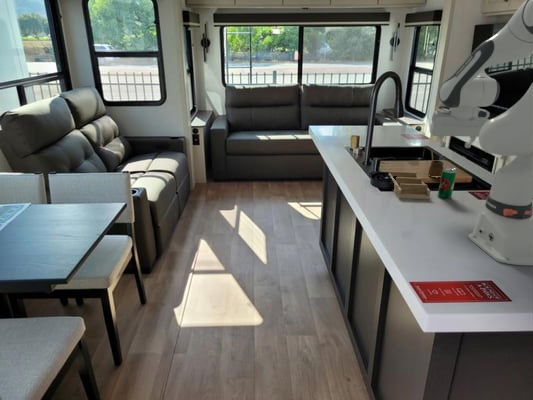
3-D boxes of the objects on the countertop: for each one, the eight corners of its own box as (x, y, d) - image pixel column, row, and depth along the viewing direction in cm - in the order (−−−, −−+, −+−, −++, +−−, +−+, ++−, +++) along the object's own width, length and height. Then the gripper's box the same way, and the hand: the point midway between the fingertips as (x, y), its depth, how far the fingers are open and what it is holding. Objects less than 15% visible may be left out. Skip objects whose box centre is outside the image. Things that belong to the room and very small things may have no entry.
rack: (428, 199, 153) (431, 187, 151) (398, 198, 154) (400, 186, 152) (414, 181, 172) (416, 170, 170) (387, 180, 172) (389, 169, 170)
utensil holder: (442, 179, 175) (448, 153, 170) (428, 178, 176) (433, 152, 171) (440, 174, 180) (445, 150, 175) (426, 173, 181) (430, 149, 177)
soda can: (452, 199, 153) (458, 171, 148) (438, 198, 154) (444, 170, 149) (449, 195, 157) (455, 167, 153) (436, 194, 158) (441, 166, 154)
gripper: (436, 112, 140) (429, 148, 145) (494, 113, 138) (485, 150, 144) (430, 108, 145) (424, 144, 151) (486, 109, 144) (478, 145, 150)
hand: (454, 147), depth 148 cm, fingers open, 8 cm apart
